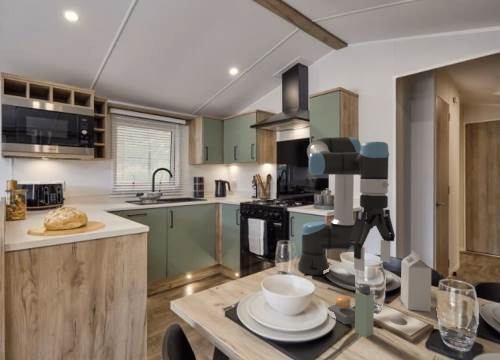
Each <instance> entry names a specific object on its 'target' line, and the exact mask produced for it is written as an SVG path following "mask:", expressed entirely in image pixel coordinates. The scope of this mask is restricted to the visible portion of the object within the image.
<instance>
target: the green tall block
mask: <svg viewBox="0 0 500 360" xmlns="http://www.w3.org/2000/svg"><path fill="white" fill-rule="evenodd" d="M354 295H355V296H354V298H355V299H354V301H355V302H354V304H355V305H354V309H355V321H354V332H355V333H356V334H358V335H359V336H361V337H363V338H365V339H366V338H368V337H371V336H372V335H374V323H373V317H374V303H375V301H374V300H375V293H373V292H371V286H370V285H369V284H367V283H359V285H358V290H356V291H355V294H354Z"/></svg>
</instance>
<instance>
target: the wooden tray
mask: <svg viewBox="0 0 500 360" xmlns="http://www.w3.org/2000/svg"><path fill="white" fill-rule="evenodd" d="M375 324H376V326H377V325H378V326H377V327H379V326H380V328H381V329H384V330H385V331H387V332H389V333H391V334H393V335H395V336H398V337H400V338H401V339H403V340H405V341H406V342H409V343H411V344H413V343H414V342H416V341H417V340H419V339H420V338H422V337H423V336H425V335H426V334H428V333H430V332H431V331H432V330H434V325H433V324H431V323H430V322H426V321H425V320H422V319H420V318H417V317H415V316H413V315H411V314H408V313H407V312H404V311H401V310H399V309H397V308H395V307H392V306H389V305H387V304H385V303H383V308H382V310H381V312H380V313H379V314H376V313H374V317H373V325H375Z"/></svg>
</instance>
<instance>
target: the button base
mask: <svg viewBox="0 0 500 360" xmlns="http://www.w3.org/2000/svg"><path fill="white" fill-rule="evenodd" d="M327 308H328V309H329V310H330V311H332V312H334V314H335V316H336V319H337V320H338V321H340V322H342V323H344V324H347V325H349V324H351V323H353V322H355V307H352V306H350V307H349V308H341V307H338V306H337V305H336V304H333V305H331V306H327ZM337 320H336V321H337ZM338 321H337V322H338ZM340 322H339V323H340ZM342 323H341V324H342ZM344 324H343V325H344Z"/></svg>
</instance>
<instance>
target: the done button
mask: <svg viewBox="0 0 500 360" xmlns="http://www.w3.org/2000/svg"><path fill="white" fill-rule="evenodd" d="M335 305H337V306H338V307H341V308H349V307H351V298H349V297H348V296H347V295H337V296H335Z"/></svg>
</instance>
